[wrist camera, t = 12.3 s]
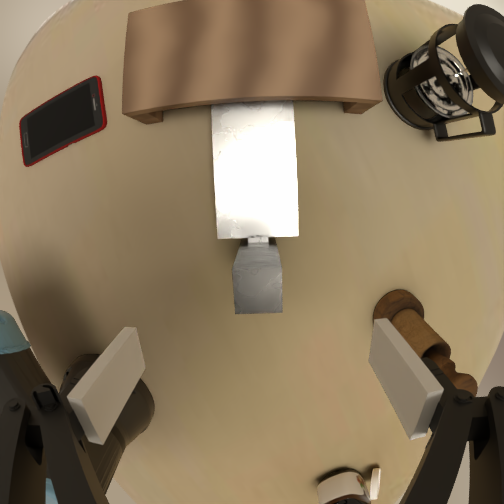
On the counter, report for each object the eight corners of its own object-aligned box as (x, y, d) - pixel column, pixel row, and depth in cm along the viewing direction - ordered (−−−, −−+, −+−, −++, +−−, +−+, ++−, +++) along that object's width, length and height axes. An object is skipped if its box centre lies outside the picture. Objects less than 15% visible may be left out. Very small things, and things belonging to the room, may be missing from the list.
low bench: (146, 124, 30) (122, 113, 24) (148, 35, 28) (128, 13, 21) (361, 113, 29) (382, 100, 23) (348, 25, 27) (364, -1, 20)
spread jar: (309, 479, 43) (315, 527, 32) (360, 451, 41) (376, 501, 30) (341, 494, 45) (350, 536, 34) (388, 470, 43) (403, 512, 32)
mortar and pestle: (364, 307, 35) (431, 401, 17) (407, 279, 34) (495, 351, 16) (382, 344, 36) (442, 439, 18) (422, 318, 35) (498, 397, 17)
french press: (372, 54, 27) (480, -52, 5) (433, 56, 27) (552, -11, 4) (397, 146, 30) (558, 124, 8) (457, 141, 29) (604, 132, 7)
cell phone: (22, 120, 30) (18, 119, 29) (102, 74, 29) (98, 72, 28) (28, 168, 32) (23, 168, 31) (109, 128, 31) (106, 127, 30)
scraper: (224, 268, 34) (205, 314, 22) (215, 99, 30) (191, 58, 18) (295, 266, 34) (312, 310, 22) (289, 95, 29) (303, 52, 18)
